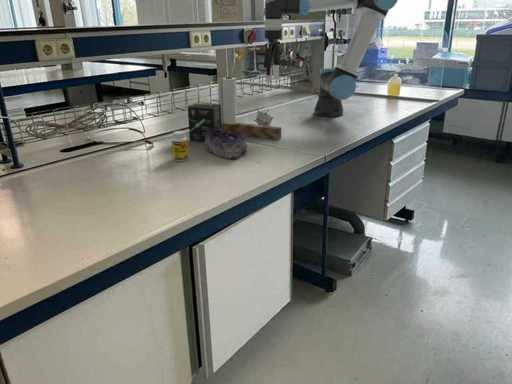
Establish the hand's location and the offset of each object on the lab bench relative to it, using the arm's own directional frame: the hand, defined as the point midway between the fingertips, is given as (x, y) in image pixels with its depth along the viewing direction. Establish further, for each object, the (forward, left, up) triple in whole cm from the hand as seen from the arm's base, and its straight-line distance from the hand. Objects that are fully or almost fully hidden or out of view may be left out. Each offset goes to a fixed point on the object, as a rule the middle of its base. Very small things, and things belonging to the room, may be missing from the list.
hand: (272, 80), depth 195 cm
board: (0, +27, -20) cm, 33 cm away
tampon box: (+16, +38, -20) cm, 46 cm away
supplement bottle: (+13, +64, -20) cm, 68 cm away
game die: (0, +11, -20) cm, 23 cm away
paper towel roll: (+18, +10, -20) cm, 29 cm away
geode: (+2, +51, -20) cm, 55 cm away
